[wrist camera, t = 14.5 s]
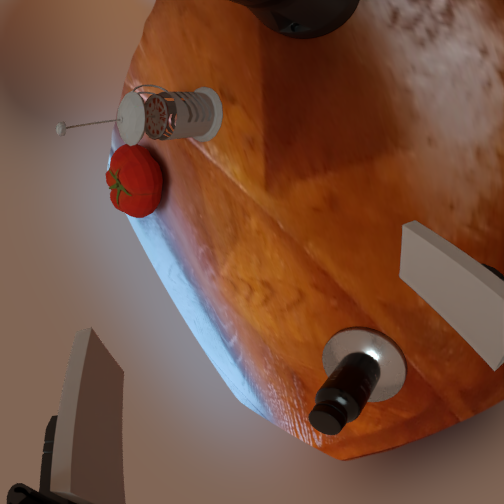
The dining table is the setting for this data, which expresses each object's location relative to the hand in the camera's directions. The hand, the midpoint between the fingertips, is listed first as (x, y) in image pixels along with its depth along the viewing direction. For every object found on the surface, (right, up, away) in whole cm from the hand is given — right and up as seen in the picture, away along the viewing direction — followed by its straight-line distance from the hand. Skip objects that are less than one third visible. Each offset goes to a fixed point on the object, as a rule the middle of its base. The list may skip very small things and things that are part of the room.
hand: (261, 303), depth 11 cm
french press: (-9, +26, +35) cm, 45 cm away
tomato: (-22, +18, +51) cm, 58 cm away
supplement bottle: (+16, -16, +30) cm, 37 cm away
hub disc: (+17, -15, +30) cm, 38 cm away
